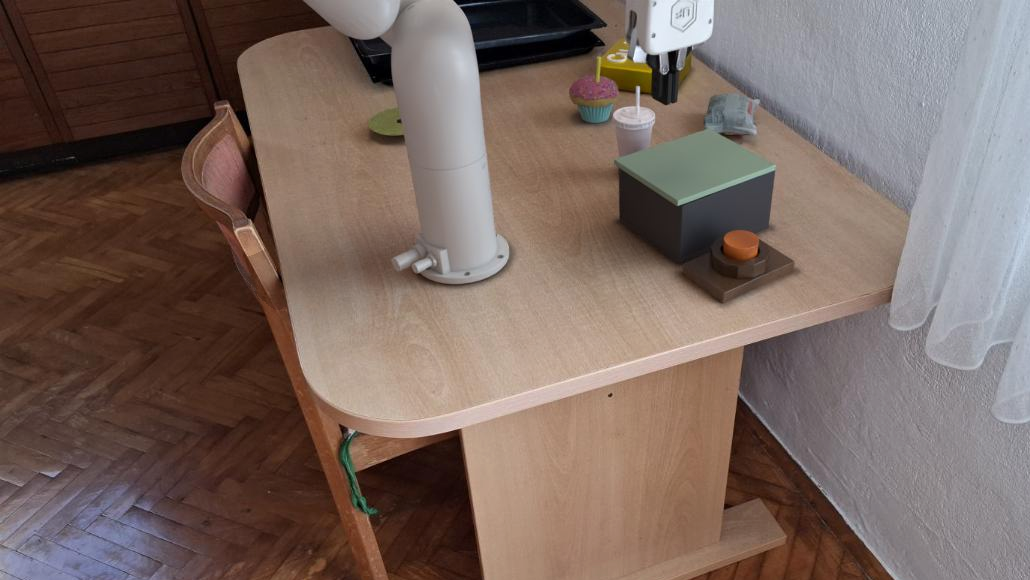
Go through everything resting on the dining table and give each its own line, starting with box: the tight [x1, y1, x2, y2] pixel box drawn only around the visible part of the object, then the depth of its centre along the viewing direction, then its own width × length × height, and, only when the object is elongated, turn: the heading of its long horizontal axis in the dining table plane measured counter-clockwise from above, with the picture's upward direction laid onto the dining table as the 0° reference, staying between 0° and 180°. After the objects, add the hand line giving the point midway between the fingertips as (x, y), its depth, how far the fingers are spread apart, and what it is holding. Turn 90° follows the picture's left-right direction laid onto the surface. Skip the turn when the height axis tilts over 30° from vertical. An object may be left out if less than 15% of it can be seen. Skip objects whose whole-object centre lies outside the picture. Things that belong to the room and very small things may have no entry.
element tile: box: [600, 37, 693, 95], centre depth 160 cm, size 15×15×5 cm
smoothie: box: [611, 86, 656, 158], centre depth 128 cm, size 6×6×14 cm
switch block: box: [682, 236, 796, 304], centre depth 110 cm, size 12×8×4 cm, turn 124°
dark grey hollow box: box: [618, 167, 776, 266], centre depth 117 cm, size 16×14×9 cm
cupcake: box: [568, 52, 620, 124], centre depth 145 cm, size 9×8×12 cm
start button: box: [723, 230, 760, 261], centre depth 108 cm, size 4×4×2 cm
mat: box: [367, 107, 404, 136], centre depth 145 cm, size 11×11×2 cm
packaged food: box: [703, 92, 761, 137], centre depth 142 cm, size 9×12×5 cm
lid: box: [613, 129, 777, 206], centre depth 114 cm, size 17×14×1 cm
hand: (664, 100), depth 105 cm, fingers closed
